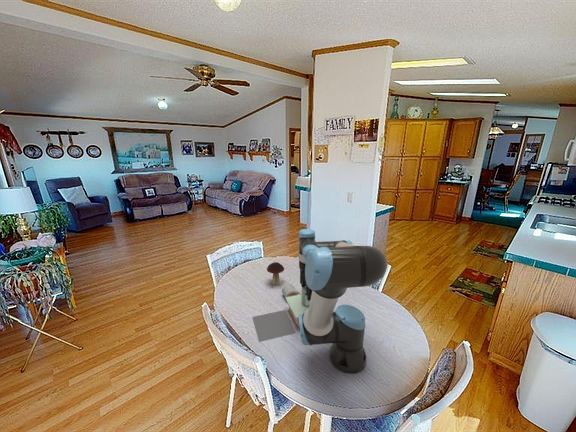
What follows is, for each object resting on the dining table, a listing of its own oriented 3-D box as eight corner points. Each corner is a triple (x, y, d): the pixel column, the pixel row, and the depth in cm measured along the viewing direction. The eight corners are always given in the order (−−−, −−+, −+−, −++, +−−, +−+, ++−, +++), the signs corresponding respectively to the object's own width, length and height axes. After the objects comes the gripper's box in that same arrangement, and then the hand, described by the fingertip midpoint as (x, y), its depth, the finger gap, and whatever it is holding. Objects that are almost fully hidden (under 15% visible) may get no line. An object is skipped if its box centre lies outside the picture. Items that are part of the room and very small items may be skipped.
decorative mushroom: (287, 282, 166) (287, 261, 162) (278, 290, 158) (277, 268, 153) (273, 277, 172) (273, 257, 168) (263, 285, 163) (262, 264, 159)
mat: (296, 333, 123) (296, 332, 123) (259, 342, 118) (259, 341, 118) (285, 310, 140) (285, 309, 139) (252, 317, 134) (252, 316, 134)
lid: (328, 312, 127) (329, 296, 125) (296, 319, 123) (296, 303, 120) (315, 293, 143) (315, 278, 140) (285, 299, 138) (285, 284, 135)
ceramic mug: (286, 304, 145) (286, 292, 143) (281, 296, 152) (281, 284, 150) (303, 300, 149) (304, 288, 146) (298, 292, 156) (298, 281, 154)
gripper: (321, 267, 118) (320, 310, 125) (307, 251, 134) (306, 290, 141) (306, 270, 116) (305, 313, 123) (293, 253, 132) (293, 293, 139)
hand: (306, 301), depth 132 cm, fingers closed on lid, 5 cm apart
